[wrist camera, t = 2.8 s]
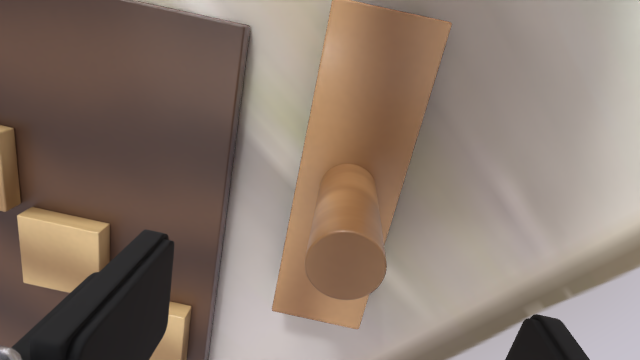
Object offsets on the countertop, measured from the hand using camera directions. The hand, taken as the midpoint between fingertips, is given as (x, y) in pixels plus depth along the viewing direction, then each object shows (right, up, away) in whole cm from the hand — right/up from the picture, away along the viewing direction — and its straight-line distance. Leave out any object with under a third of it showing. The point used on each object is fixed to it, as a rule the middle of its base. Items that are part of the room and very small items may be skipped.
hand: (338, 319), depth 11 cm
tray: (-14, +2, +11) cm, 18 cm away
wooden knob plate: (+1, +4, +9) cm, 10 cm away
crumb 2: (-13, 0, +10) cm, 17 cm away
